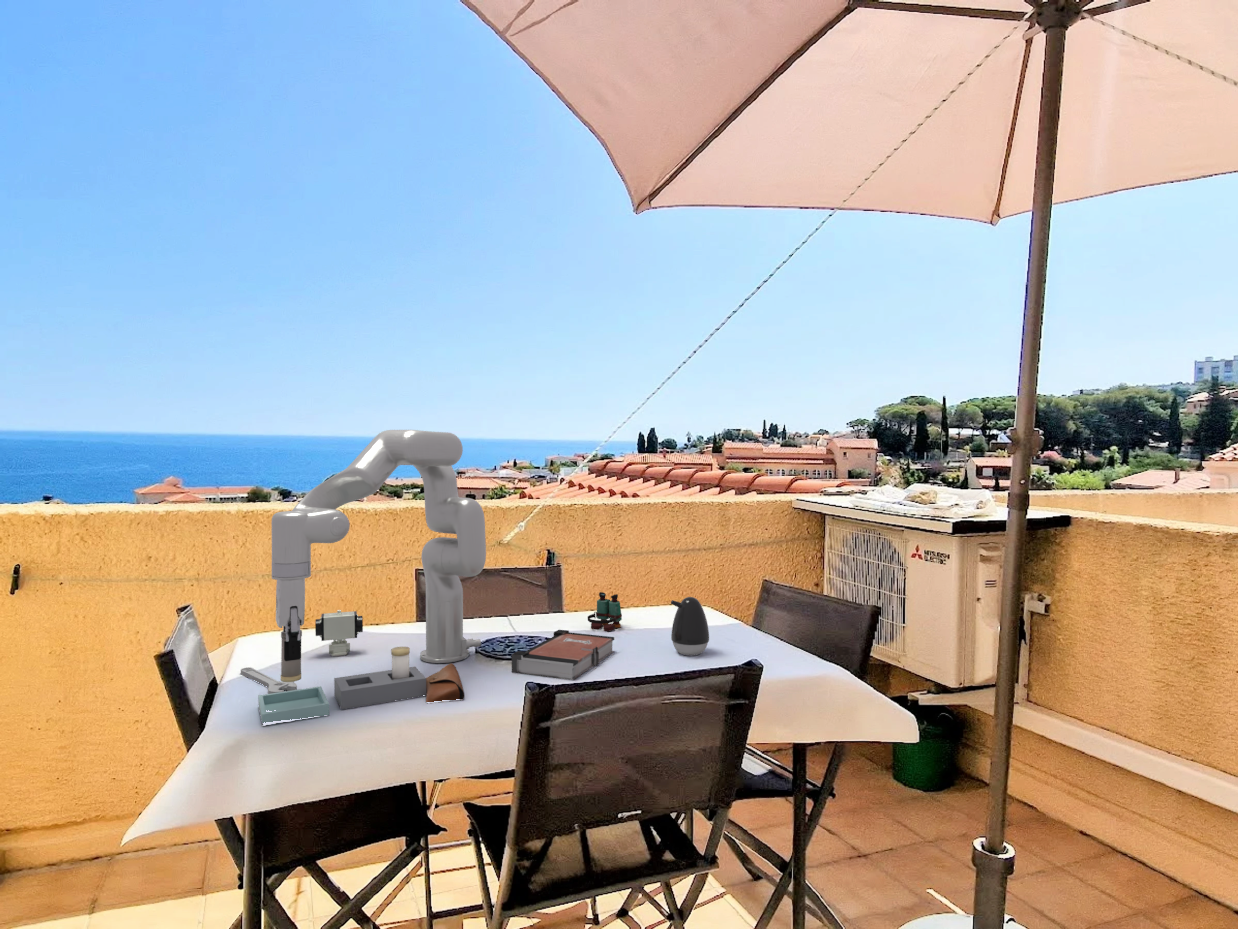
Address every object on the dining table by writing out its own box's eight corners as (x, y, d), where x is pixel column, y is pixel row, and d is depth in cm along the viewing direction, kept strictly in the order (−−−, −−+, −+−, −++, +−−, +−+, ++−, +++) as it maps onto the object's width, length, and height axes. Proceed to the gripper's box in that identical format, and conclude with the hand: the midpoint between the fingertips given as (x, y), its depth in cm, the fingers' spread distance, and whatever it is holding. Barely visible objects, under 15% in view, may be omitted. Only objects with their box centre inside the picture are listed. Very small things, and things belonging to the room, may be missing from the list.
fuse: (407, 688, 171) (407, 645, 171) (411, 694, 167) (411, 650, 167) (389, 691, 169) (389, 648, 169) (393, 696, 166) (393, 652, 165)
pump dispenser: (667, 648, 205) (667, 593, 204) (704, 647, 206) (705, 592, 205) (673, 659, 195) (673, 601, 194) (712, 658, 196) (713, 600, 195)
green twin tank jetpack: (582, 598, 224) (600, 590, 232) (584, 632, 225) (602, 622, 233) (607, 602, 219) (624, 593, 227) (609, 636, 220) (626, 626, 228)
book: (575, 682, 177) (575, 662, 177) (511, 674, 183) (511, 654, 183) (616, 654, 201) (616, 635, 201) (558, 647, 208) (558, 629, 207)
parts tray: (321, 697, 165) (321, 686, 165) (329, 715, 154) (329, 703, 154) (258, 707, 159) (258, 695, 159) (262, 726, 148) (261, 714, 148)
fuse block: (415, 683, 175) (415, 666, 175) (426, 696, 166) (426, 678, 166) (334, 695, 166) (334, 678, 166) (341, 710, 157) (341, 691, 157)
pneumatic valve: (363, 654, 198) (362, 610, 198) (315, 659, 194) (315, 613, 194) (362, 649, 203) (362, 606, 203) (316, 653, 199) (315, 609, 199)
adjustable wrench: (238, 675, 183) (238, 668, 183) (266, 670, 187) (266, 663, 187) (272, 700, 164) (272, 692, 164) (302, 693, 169) (302, 686, 169)
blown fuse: (300, 675, 159) (300, 628, 159) (302, 680, 155) (302, 632, 155) (279, 677, 157) (280, 630, 157) (281, 683, 153) (281, 634, 153)
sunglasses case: (420, 679, 178) (434, 654, 179) (446, 691, 180) (460, 666, 181) (425, 704, 161) (441, 676, 162) (453, 717, 163) (469, 690, 164)
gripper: (268, 566, 161) (269, 650, 161) (274, 577, 146) (275, 670, 147) (306, 563, 165) (306, 645, 165) (315, 574, 150) (315, 665, 150)
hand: (291, 656), depth 156 cm, fingers closed on blown fuse, 3 cm apart
